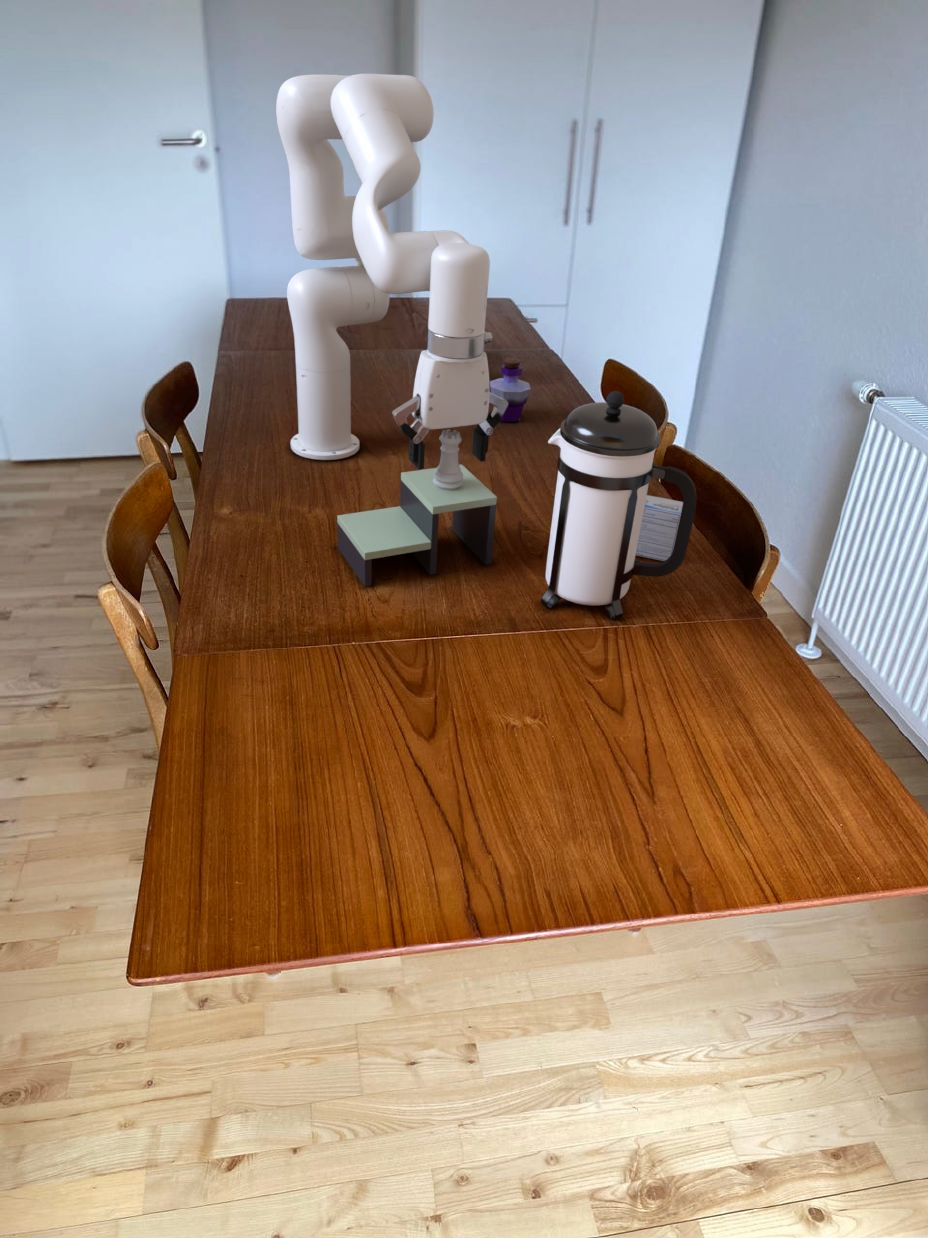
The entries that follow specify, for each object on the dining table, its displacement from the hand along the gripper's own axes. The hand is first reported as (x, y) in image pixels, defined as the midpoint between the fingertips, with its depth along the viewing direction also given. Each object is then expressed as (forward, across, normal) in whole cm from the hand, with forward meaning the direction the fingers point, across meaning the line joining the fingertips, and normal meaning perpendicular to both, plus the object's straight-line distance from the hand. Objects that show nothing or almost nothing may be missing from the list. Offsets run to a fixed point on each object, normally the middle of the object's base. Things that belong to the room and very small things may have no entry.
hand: (448, 461), depth 133 cm
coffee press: (+14, -15, +20) cm, 29 cm away
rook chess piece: (+4, 0, 0) cm, 4 cm away
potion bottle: (+15, -35, -46) cm, 60 cm away
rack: (+14, +5, 0) cm, 15 cm away
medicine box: (+14, -30, +12) cm, 35 cm away
